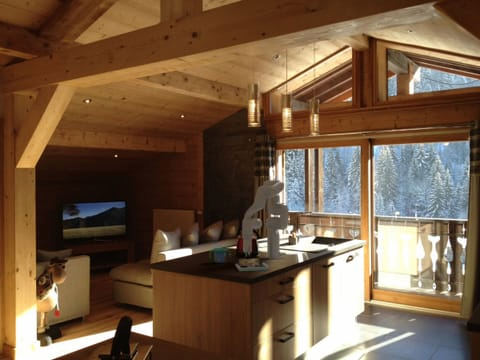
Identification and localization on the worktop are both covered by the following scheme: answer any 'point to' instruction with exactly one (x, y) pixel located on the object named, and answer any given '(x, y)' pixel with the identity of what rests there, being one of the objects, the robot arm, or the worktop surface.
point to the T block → (248, 262)
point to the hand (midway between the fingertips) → (247, 262)
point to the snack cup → (220, 254)
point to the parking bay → (253, 268)
